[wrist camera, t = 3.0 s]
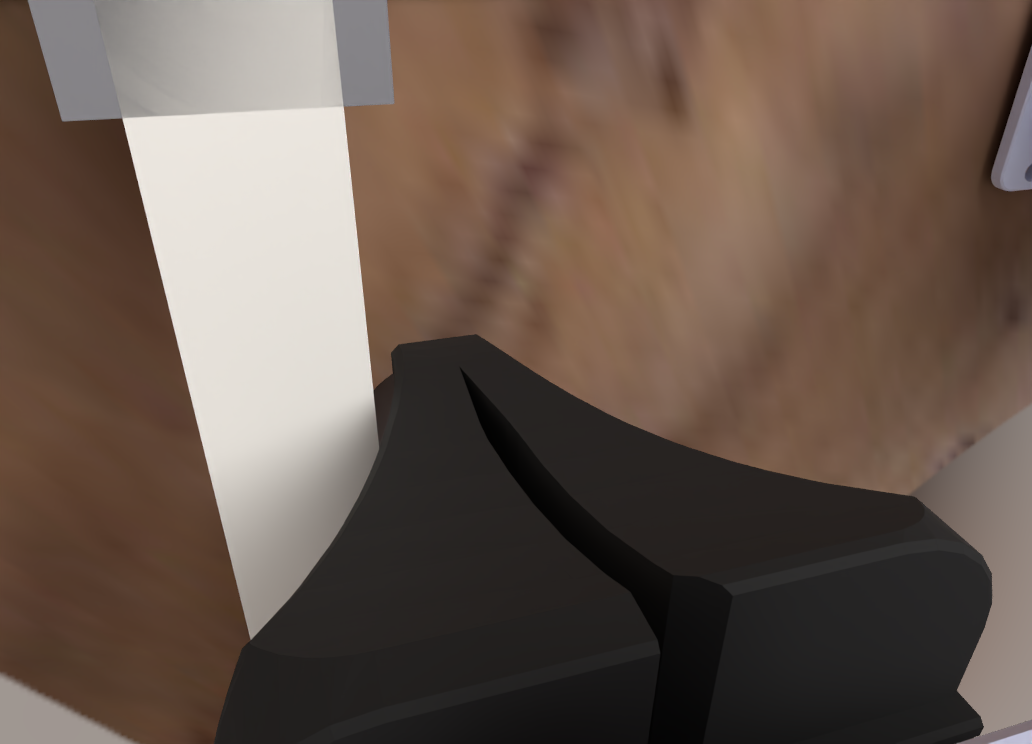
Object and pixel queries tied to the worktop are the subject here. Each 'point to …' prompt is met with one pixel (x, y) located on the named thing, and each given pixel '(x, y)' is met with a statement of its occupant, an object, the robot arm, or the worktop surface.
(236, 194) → the tie bar
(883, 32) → the worktop surface
